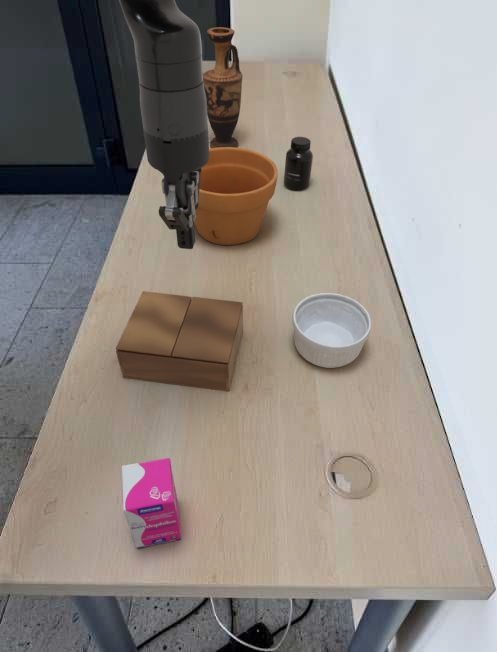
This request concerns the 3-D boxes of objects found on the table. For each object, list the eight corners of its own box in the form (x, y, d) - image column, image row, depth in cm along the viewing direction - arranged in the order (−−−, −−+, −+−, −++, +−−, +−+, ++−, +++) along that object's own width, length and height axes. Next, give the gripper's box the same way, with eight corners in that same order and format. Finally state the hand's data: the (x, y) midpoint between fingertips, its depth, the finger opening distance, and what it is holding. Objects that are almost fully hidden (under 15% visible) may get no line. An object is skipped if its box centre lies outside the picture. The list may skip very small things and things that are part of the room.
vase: (213, 156, 139) (208, 38, 118) (200, 141, 146) (194, 27, 125) (248, 150, 142) (249, 34, 121) (234, 135, 149) (233, 23, 128)
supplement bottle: (287, 192, 125) (290, 147, 116) (280, 180, 130) (283, 135, 121) (312, 190, 126) (318, 145, 117) (305, 177, 131) (309, 133, 122)
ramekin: (364, 379, 81) (372, 351, 76) (286, 369, 82) (289, 341, 78) (363, 325, 90) (370, 296, 85) (293, 316, 92) (296, 288, 87)
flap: (170, 356, 75) (170, 355, 75) (115, 349, 76) (115, 348, 76) (191, 297, 85) (191, 296, 85) (142, 292, 86) (142, 291, 86)
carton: (229, 391, 79) (228, 362, 74) (122, 377, 81) (114, 348, 76) (242, 331, 89) (243, 302, 84) (147, 320, 91) (142, 290, 86)
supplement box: (136, 551, 61) (120, 510, 53) (134, 506, 65) (119, 462, 57) (182, 542, 62) (174, 500, 54) (178, 498, 66) (169, 454, 58)
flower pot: (292, 227, 113) (298, 167, 103) (230, 267, 102) (229, 205, 92) (227, 195, 123) (226, 138, 113) (164, 229, 112) (156, 169, 102)
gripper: (159, 99, 61) (173, 218, 73) (125, 144, 52) (147, 271, 64) (218, 103, 61) (221, 222, 73) (193, 149, 51) (202, 277, 63)
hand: (186, 245), depth 68 cm, fingers closed
